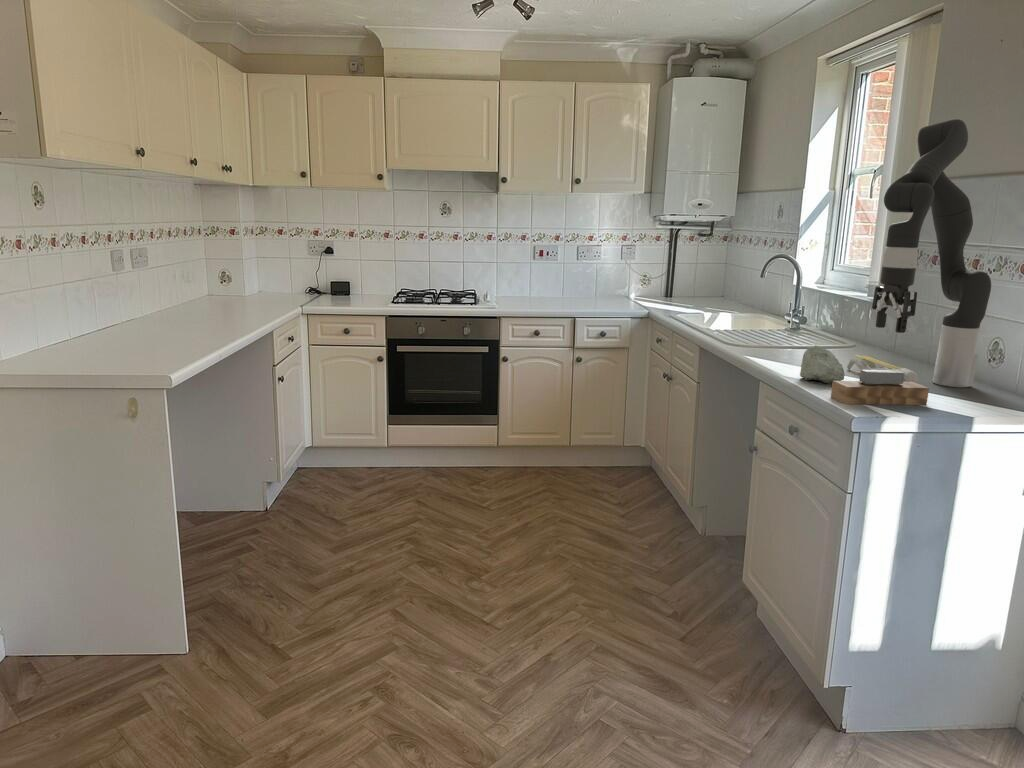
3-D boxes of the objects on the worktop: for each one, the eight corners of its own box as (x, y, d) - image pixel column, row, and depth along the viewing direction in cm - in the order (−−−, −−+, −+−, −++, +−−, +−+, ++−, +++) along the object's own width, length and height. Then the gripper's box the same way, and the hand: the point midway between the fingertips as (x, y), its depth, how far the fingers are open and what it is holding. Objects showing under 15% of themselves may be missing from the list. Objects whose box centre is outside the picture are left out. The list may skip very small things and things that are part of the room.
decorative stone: (788, 374, 216) (792, 351, 208) (820, 361, 217) (826, 337, 209) (816, 405, 207) (821, 382, 199) (850, 391, 208) (857, 367, 201)
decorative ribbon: (871, 355, 226) (930, 374, 197) (865, 373, 227) (923, 395, 198) (847, 351, 225) (903, 369, 196) (842, 369, 227) (897, 390, 197)
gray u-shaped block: (893, 399, 188) (897, 370, 186) (899, 402, 185) (904, 372, 184) (856, 399, 188) (860, 369, 186) (862, 402, 185) (867, 372, 183)
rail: (909, 398, 191) (912, 381, 190) (926, 404, 184) (929, 388, 183) (830, 397, 189) (833, 380, 188) (844, 404, 182) (847, 386, 181)
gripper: (931, 268, 172) (921, 334, 176) (896, 264, 186) (887, 325, 189) (902, 267, 171) (892, 334, 175) (868, 263, 185) (860, 325, 189)
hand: (889, 329), depth 182 cm, fingers open, 8 cm apart
